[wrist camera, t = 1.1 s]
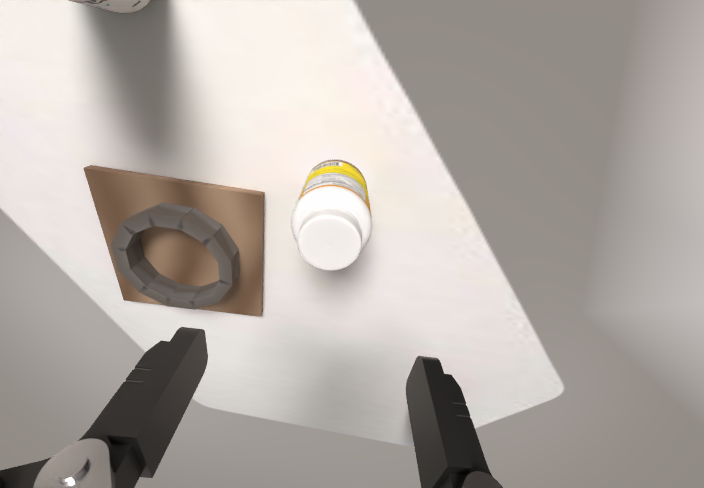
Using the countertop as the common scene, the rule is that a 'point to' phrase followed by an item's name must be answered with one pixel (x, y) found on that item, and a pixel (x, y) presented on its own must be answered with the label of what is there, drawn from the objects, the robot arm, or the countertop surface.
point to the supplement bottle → (332, 215)
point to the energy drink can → (116, 4)
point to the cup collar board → (182, 240)
